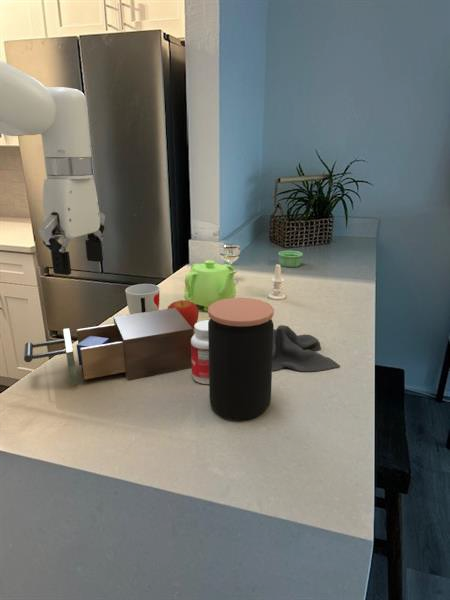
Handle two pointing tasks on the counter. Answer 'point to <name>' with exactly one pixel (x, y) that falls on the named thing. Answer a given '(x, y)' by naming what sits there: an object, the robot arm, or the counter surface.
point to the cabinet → (155, 342)
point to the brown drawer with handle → (88, 352)
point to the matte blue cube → (90, 344)
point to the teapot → (209, 283)
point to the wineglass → (230, 253)
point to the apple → (186, 311)
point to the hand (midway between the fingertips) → (79, 267)
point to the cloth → (298, 352)
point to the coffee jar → (240, 357)
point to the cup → (142, 298)
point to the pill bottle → (200, 352)
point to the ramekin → (290, 258)
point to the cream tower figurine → (277, 285)
